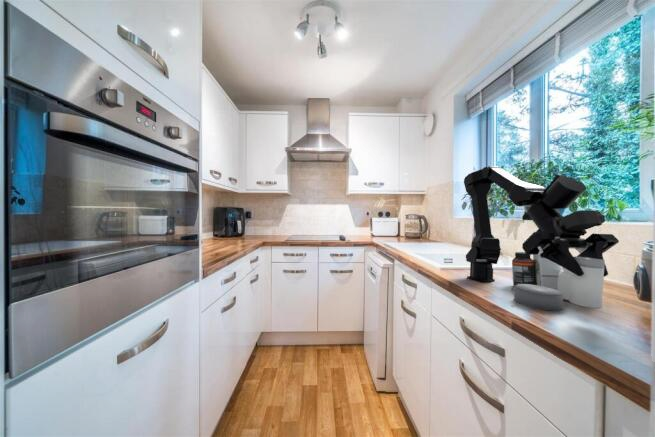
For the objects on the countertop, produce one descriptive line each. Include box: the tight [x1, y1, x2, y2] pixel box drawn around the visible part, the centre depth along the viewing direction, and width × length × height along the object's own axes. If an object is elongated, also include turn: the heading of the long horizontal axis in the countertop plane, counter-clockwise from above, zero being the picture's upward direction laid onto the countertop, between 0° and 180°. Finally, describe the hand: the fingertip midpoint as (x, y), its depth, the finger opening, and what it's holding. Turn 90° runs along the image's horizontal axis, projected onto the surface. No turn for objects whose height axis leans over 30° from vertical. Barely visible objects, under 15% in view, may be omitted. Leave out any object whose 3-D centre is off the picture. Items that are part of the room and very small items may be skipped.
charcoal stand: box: [513, 284, 564, 312], centre depth 68 cm, size 10×10×4 cm
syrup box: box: [532, 247, 563, 290], centre depth 80 cm, size 6×6×14 cm
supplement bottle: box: [511, 251, 536, 287], centre depth 84 cm, size 6×6×11 cm
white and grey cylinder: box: [569, 256, 606, 309], centre depth 56 cm, size 5×5×10 cm
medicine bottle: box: [557, 267, 571, 302], centre depth 72 cm, size 7×7×12 cm
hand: (593, 275), depth 54 cm, fingers closed on white and grey cylinder, 5 cm apart
